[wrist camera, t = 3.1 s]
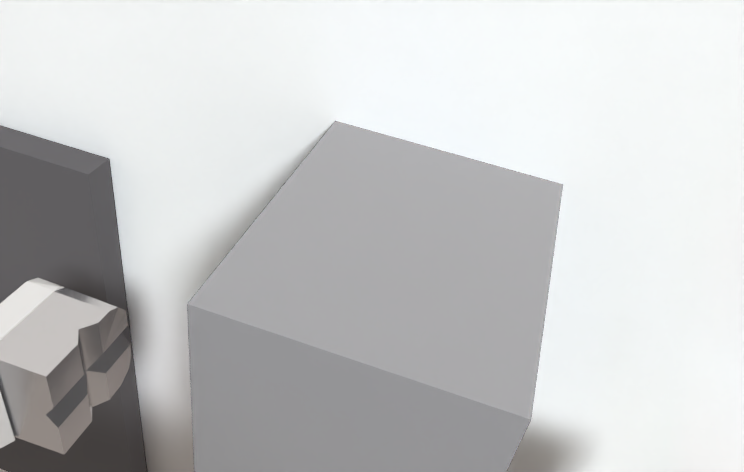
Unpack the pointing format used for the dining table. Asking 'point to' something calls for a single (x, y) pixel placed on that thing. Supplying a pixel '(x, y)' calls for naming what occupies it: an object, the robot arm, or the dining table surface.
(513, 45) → the dining table surface
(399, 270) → the grey plug
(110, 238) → the rubber mat
